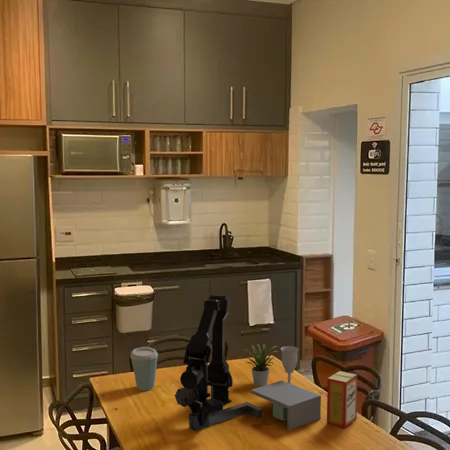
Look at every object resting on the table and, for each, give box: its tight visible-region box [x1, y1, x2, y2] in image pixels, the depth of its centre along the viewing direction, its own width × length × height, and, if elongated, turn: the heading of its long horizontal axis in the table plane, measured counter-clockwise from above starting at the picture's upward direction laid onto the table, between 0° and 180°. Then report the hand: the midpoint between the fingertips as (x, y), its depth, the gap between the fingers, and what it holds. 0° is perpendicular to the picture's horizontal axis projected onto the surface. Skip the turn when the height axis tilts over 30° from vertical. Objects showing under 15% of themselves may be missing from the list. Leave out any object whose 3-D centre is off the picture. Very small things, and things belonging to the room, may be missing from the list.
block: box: [272, 402, 288, 421], centre depth 213 cm, size 5×5×5 cm
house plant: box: [243, 343, 278, 387], centre depth 244 cm, size 14×14×16 cm
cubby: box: [250, 380, 322, 431], centre depth 213 cm, size 19×15×8 cm
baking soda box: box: [326, 370, 359, 429], centre depth 208 cm, size 10×6×16 cm
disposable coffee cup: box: [130, 346, 159, 392], centre depth 240 cm, size 11×11×15 cm
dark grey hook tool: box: [188, 401, 264, 432], centre depth 208 cm, size 9×25×5 cm, turn 129°
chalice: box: [280, 345, 299, 384], centre depth 232 cm, size 7×7×18 cm
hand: (199, 424), depth 204 cm, fingers closed on dark grey hook tool, 3 cm apart
